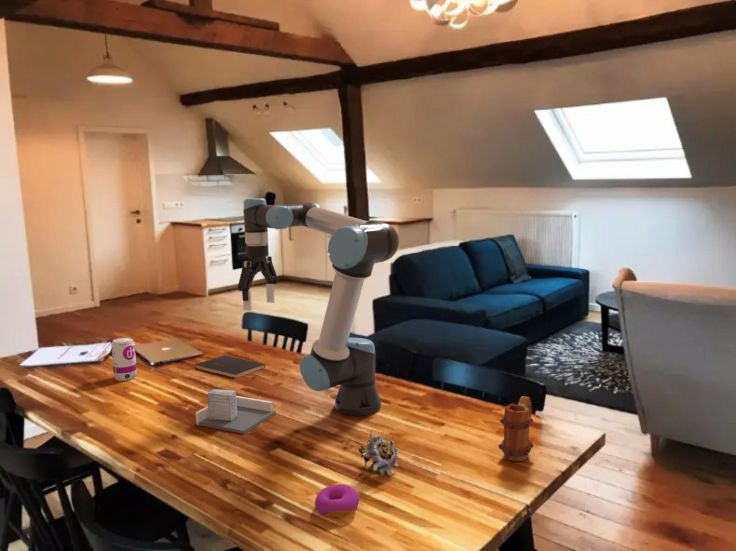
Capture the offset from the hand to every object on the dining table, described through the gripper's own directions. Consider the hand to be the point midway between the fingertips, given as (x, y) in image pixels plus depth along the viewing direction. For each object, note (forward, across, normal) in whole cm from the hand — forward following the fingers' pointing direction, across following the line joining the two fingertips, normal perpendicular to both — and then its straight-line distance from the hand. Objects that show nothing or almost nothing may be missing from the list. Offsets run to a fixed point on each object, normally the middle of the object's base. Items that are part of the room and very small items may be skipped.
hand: (259, 306), depth 218 cm
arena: (+32, +22, +5) cm, 39 cm away
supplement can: (+32, +5, -60) cm, 68 cm away
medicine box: (+31, +25, +2) cm, 40 cm away
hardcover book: (+32, -21, -30) cm, 49 cm away
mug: (+32, +12, +92) cm, 98 cm away
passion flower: (+32, +35, +60) cm, 77 cm away
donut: (+32, +57, +60) cm, 88 cm away
